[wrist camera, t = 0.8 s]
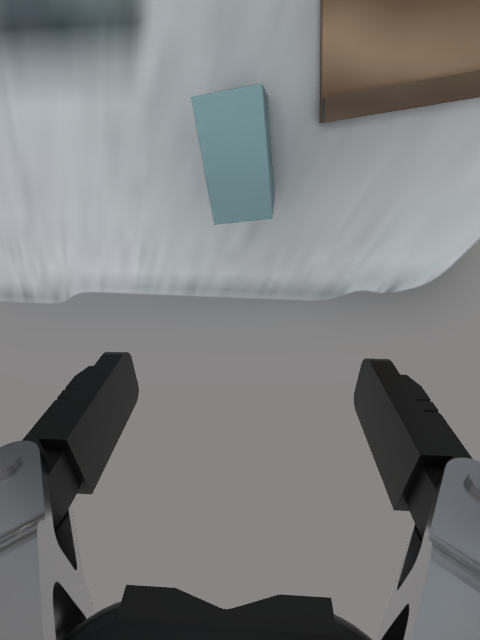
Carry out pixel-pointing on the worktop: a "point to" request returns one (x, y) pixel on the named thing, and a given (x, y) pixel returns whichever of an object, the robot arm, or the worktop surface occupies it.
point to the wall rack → (397, 55)
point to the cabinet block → (236, 153)
